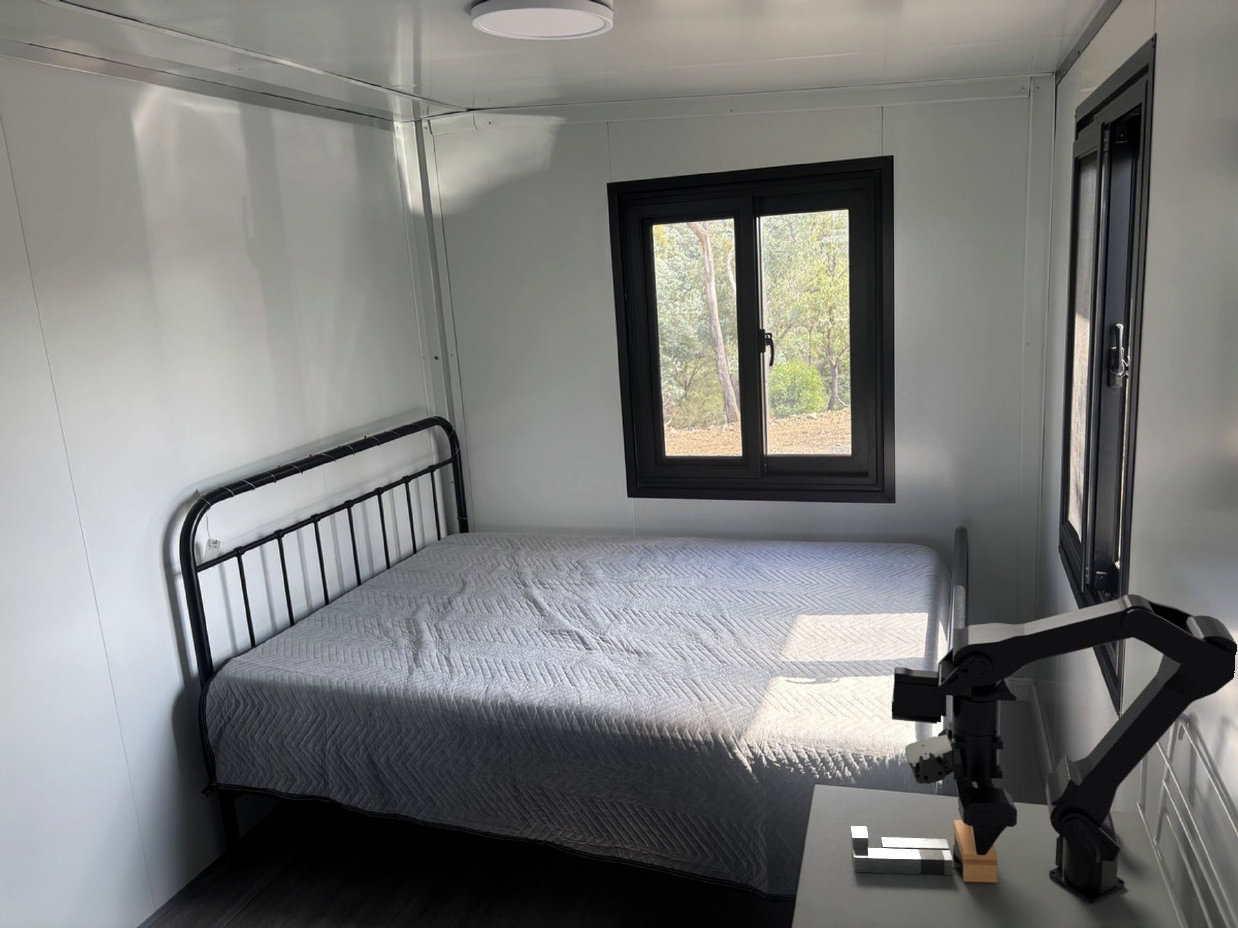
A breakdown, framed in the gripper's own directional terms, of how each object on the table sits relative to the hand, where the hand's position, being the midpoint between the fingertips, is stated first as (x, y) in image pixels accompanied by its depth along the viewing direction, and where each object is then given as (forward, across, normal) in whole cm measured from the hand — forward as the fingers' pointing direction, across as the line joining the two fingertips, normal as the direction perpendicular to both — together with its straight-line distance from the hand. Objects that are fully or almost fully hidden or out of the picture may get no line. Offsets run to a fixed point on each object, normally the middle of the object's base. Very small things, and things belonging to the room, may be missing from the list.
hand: (973, 831), depth 126 cm
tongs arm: (+5, 0, -9) cm, 10 cm away
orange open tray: (+5, 0, 0) cm, 5 cm away
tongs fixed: (+5, 0, -5) cm, 7 cm away
